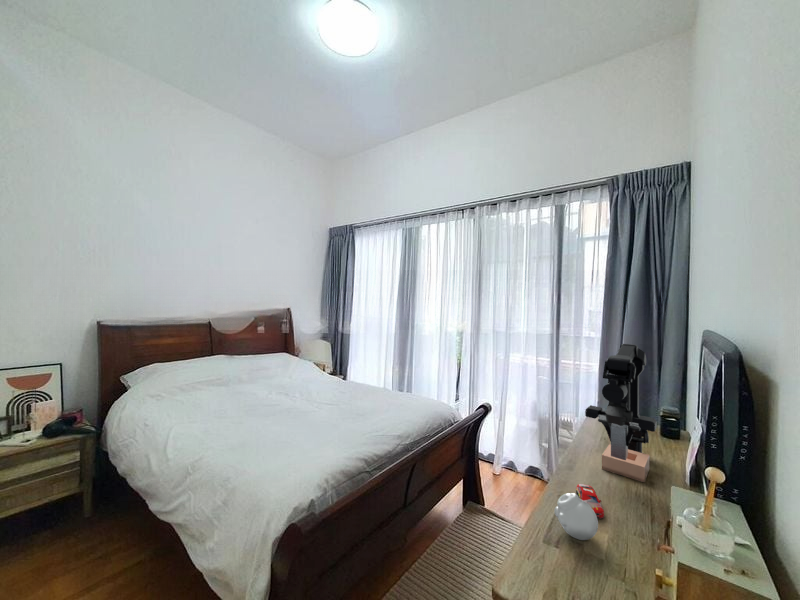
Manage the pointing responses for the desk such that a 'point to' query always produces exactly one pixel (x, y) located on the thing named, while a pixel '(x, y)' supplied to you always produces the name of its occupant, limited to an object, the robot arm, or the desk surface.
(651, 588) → the desk surface
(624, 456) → the grey rectangular block
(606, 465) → the well
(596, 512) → the race car
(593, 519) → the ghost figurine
